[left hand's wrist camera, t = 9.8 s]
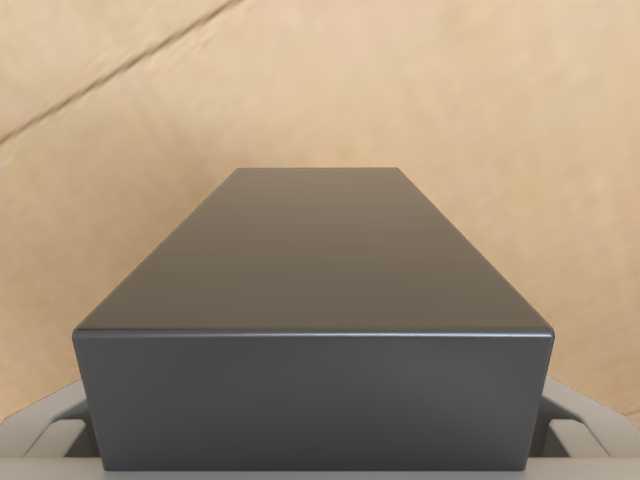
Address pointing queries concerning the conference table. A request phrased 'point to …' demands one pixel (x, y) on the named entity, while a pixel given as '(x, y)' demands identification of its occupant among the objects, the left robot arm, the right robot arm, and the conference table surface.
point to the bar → (314, 337)
